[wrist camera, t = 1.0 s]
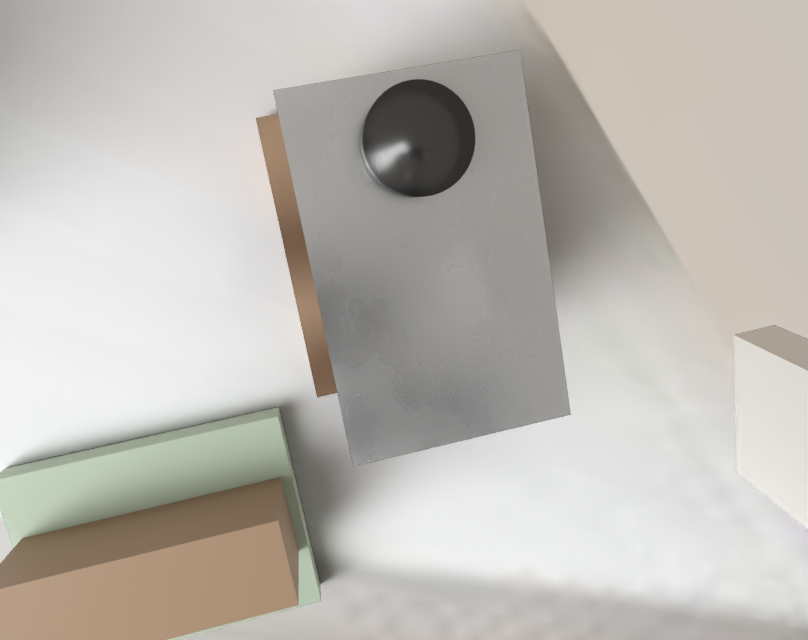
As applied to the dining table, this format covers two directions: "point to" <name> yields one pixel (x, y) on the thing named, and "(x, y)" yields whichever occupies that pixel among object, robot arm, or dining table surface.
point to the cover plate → (427, 252)
